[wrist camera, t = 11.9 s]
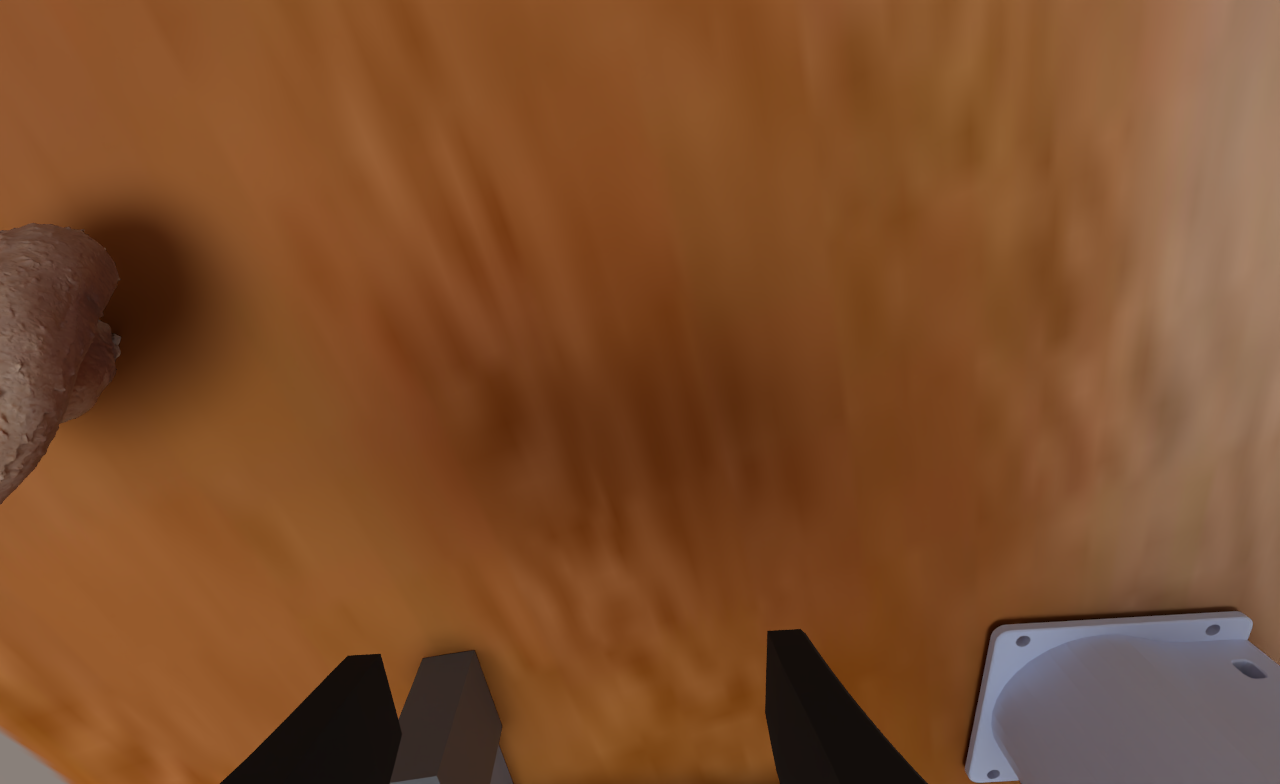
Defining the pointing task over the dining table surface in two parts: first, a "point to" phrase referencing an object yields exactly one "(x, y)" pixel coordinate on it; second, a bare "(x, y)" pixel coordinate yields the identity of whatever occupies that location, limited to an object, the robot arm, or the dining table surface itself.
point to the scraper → (450, 726)
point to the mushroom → (50, 339)
